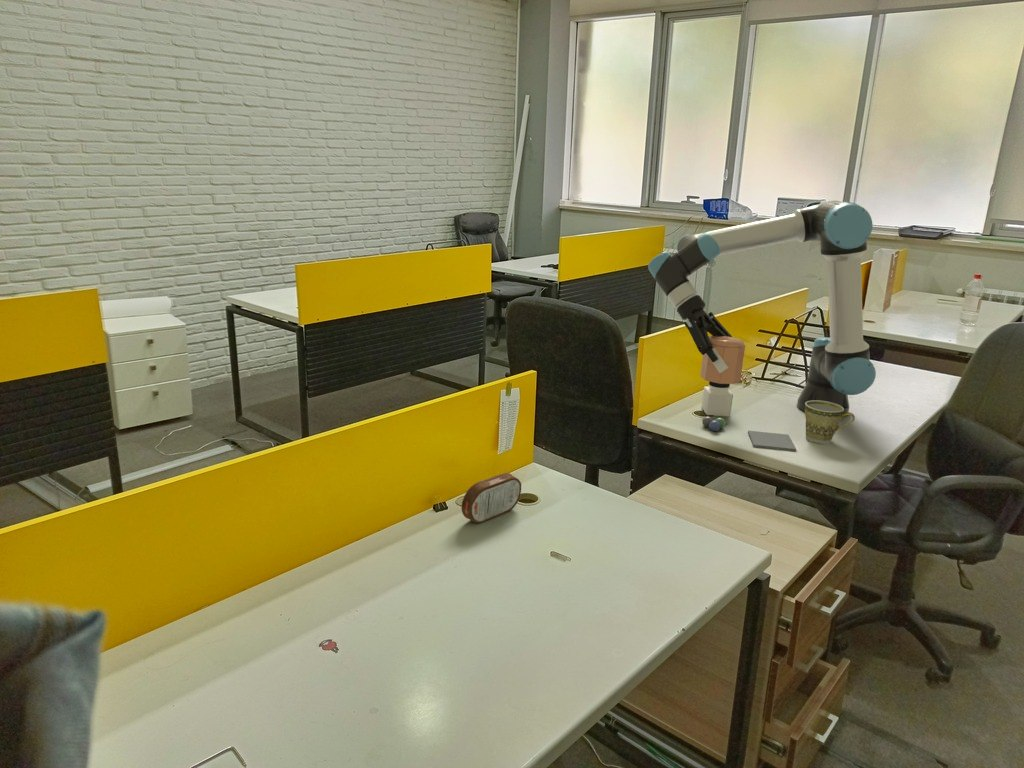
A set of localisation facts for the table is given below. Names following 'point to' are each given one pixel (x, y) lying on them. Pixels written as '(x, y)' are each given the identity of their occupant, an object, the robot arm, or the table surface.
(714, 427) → the navy marble
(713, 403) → the medicine bottle
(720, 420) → the bottle-green marble
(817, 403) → the ceramic cup
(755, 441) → the slate mat
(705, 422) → the charcoal marble
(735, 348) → the peach domed post
